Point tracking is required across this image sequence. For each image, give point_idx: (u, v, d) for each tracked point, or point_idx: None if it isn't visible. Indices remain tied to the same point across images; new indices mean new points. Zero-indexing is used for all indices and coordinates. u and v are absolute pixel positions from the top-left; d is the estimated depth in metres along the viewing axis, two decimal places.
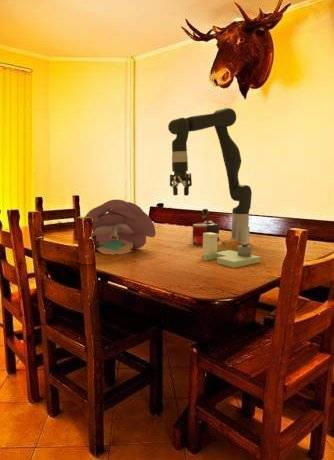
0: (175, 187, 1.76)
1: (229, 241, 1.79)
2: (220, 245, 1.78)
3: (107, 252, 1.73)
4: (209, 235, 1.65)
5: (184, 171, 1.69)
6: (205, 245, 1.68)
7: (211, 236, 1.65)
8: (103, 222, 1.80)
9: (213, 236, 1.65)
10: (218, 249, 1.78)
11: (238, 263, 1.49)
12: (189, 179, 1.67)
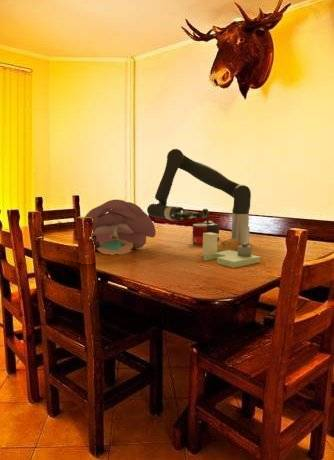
0: (195, 215, 1.81)
1: (229, 241, 1.79)
2: (220, 245, 1.78)
3: (107, 252, 1.73)
4: (209, 235, 1.65)
5: None
6: (205, 245, 1.68)
7: (211, 236, 1.65)
8: (103, 222, 1.80)
9: (213, 236, 1.65)
10: (218, 249, 1.78)
11: (238, 263, 1.49)
12: (174, 215, 1.77)
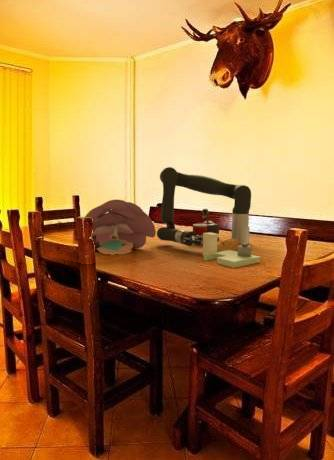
0: None
1: (229, 241, 1.79)
2: (220, 245, 1.78)
3: (107, 252, 1.73)
4: (209, 235, 1.65)
5: None
6: (205, 245, 1.68)
7: (211, 236, 1.65)
8: (103, 222, 1.79)
9: (213, 236, 1.65)
10: (218, 249, 1.78)
11: (238, 263, 1.49)
12: (185, 241, 1.72)
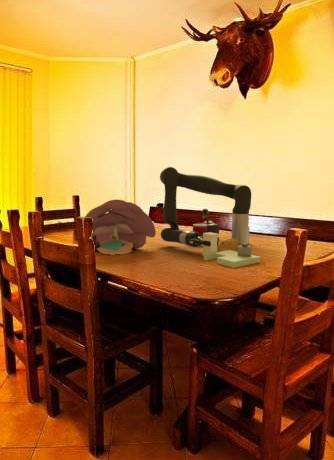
0: None
1: (229, 241, 1.79)
2: (220, 245, 1.78)
3: (107, 252, 1.73)
4: (209, 235, 1.65)
5: None
6: None
7: (211, 236, 1.65)
8: (103, 222, 1.79)
9: (213, 236, 1.65)
10: (217, 249, 1.78)
11: (238, 263, 1.49)
12: (194, 242, 1.69)
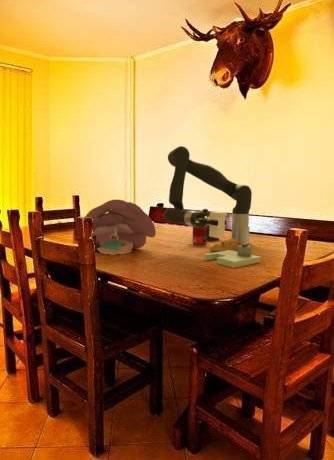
0: None
1: (229, 241, 1.79)
2: (219, 245, 1.78)
3: (107, 252, 1.72)
4: (216, 213, 1.54)
5: None
6: (212, 225, 1.57)
7: (219, 214, 1.53)
8: (103, 222, 1.79)
9: (221, 214, 1.53)
10: (217, 249, 1.78)
11: (238, 263, 1.49)
12: (200, 221, 1.57)
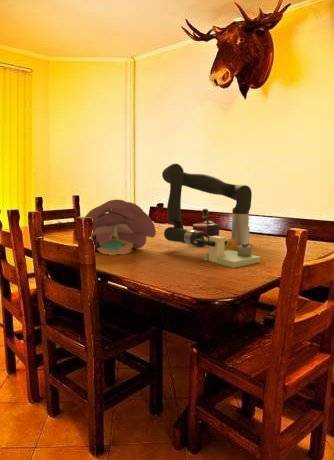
0: None
1: (228, 241, 1.79)
2: None
3: (107, 252, 1.72)
4: (216, 239, 1.56)
5: None
6: (212, 249, 1.58)
7: (218, 240, 1.55)
8: (103, 222, 1.79)
9: (220, 240, 1.55)
10: None
11: (238, 263, 1.49)
12: (198, 242, 1.59)
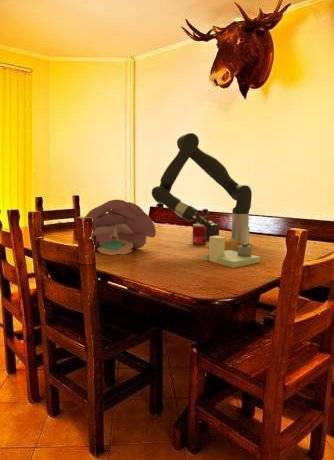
0: None
1: (228, 241, 1.79)
2: None
3: (107, 252, 1.72)
4: (216, 239, 1.56)
5: (192, 216, 1.72)
6: (212, 249, 1.58)
7: (218, 240, 1.55)
8: (103, 222, 1.79)
9: (220, 240, 1.55)
10: None
11: (238, 263, 1.49)
12: (197, 218, 1.68)
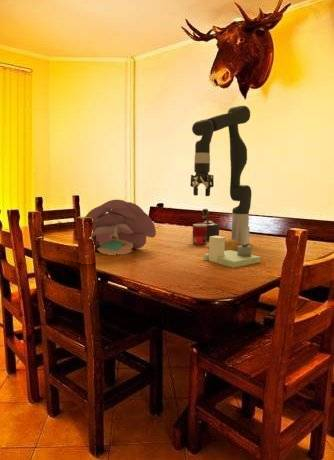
0: (196, 187, 1.79)
1: (228, 241, 1.79)
2: None
3: (107, 252, 1.72)
4: (216, 239, 1.56)
5: (206, 172, 1.72)
6: (212, 249, 1.58)
7: (218, 240, 1.55)
8: (103, 222, 1.79)
9: (220, 240, 1.55)
10: None
11: (238, 263, 1.49)
12: (211, 180, 1.70)
